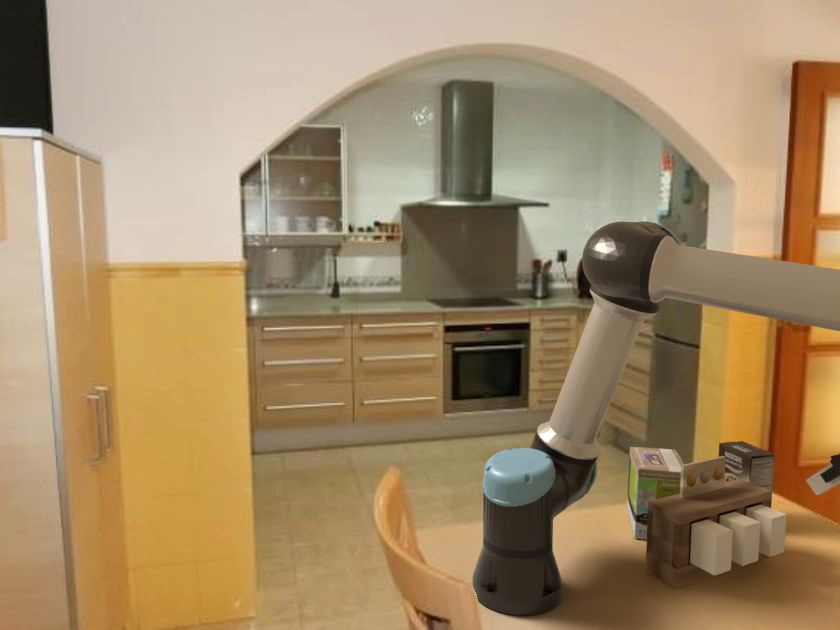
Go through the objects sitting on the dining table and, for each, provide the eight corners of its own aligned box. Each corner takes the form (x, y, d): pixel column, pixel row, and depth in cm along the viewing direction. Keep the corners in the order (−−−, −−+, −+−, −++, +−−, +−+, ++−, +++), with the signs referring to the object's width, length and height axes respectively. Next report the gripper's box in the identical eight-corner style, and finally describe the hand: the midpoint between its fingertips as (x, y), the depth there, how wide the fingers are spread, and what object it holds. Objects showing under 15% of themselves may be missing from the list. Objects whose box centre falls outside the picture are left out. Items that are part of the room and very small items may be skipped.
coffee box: (713, 515, 145) (717, 442, 143) (737, 511, 147) (741, 439, 145) (745, 532, 136) (750, 456, 134) (771, 528, 138) (775, 452, 136)
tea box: (687, 544, 131) (690, 471, 130) (633, 539, 133) (636, 468, 132) (673, 513, 146) (676, 447, 144) (625, 509, 148) (628, 444, 146)
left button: (689, 562, 116) (691, 523, 115) (706, 557, 117) (707, 519, 117) (714, 575, 111) (716, 535, 110) (730, 570, 113) (732, 530, 112)
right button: (744, 545, 122) (746, 508, 121) (758, 540, 124) (760, 504, 123) (769, 556, 118) (771, 518, 117) (784, 551, 119) (786, 514, 119)
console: (645, 570, 121) (649, 469, 119) (735, 542, 132) (740, 448, 130) (676, 588, 115) (681, 481, 112) (768, 557, 126) (774, 459, 123)
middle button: (717, 553, 119) (719, 515, 118) (733, 548, 121) (735, 511, 120) (742, 565, 114) (744, 526, 114) (758, 560, 116) (760, 522, 115)
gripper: (934, 437, 85) (803, 517, 102) (987, 423, 91) (854, 500, 108) (892, 388, 89) (772, 472, 106) (945, 378, 95) (823, 459, 112)
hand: (814, 486), depth 107 cm, fingers closed
